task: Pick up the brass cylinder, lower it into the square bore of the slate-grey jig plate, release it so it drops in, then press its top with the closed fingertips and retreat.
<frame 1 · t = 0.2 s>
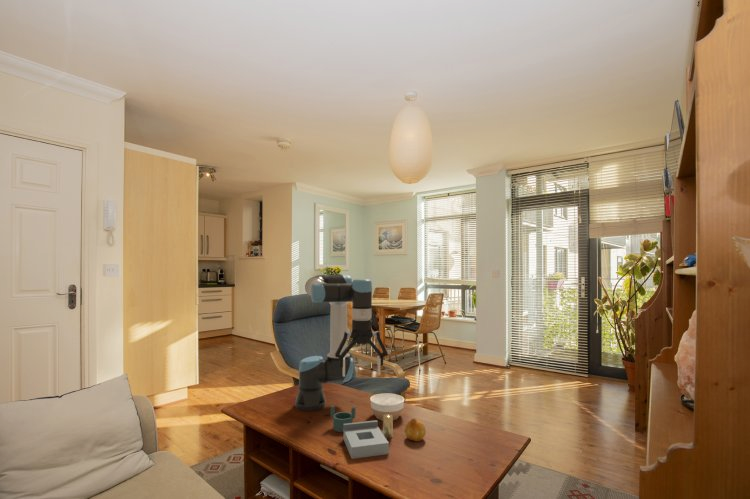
hand: (361, 375, 144), 27 cm above the table, fingers open, 13 cm apart
brass cylinder: (387, 436, 153), on the table
fruit: (415, 439, 151), on the table
bracket: (343, 427, 161), on the table
jig: (365, 446, 144), on the table
bowl: (387, 416, 174), on the table
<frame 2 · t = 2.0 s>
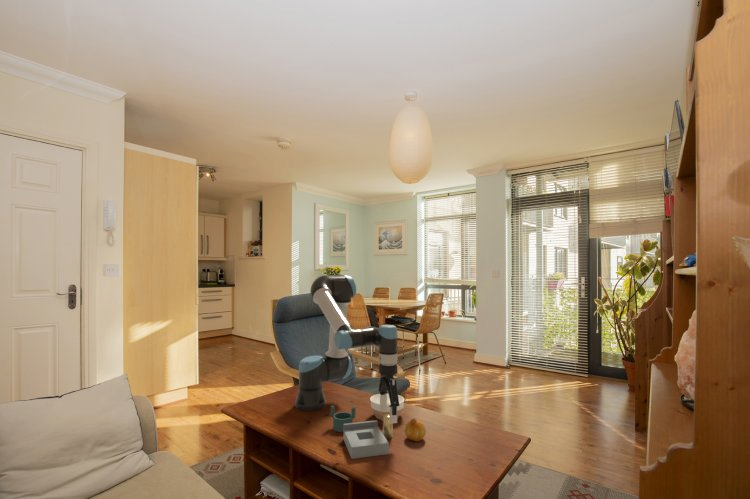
hand: (388, 416, 153), 8 cm above the table, fingers open, 13 cm apart
nothing on the table moved.
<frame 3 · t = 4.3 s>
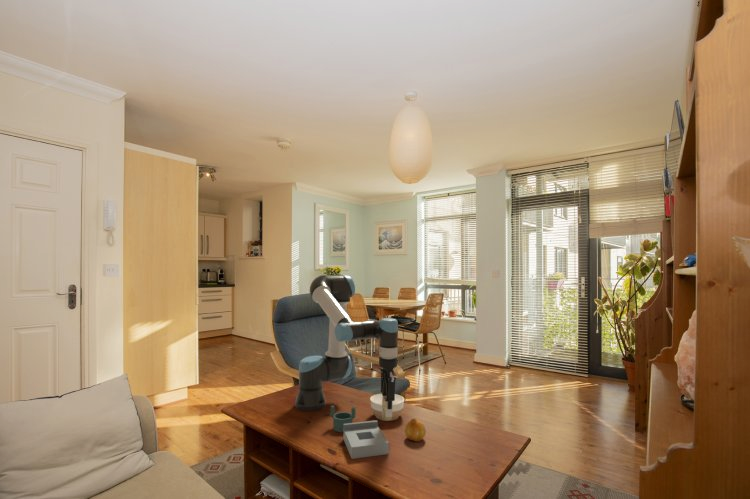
hand: (387, 414, 154), 9 cm above the table, fingers closed on brass cylinder, 4 cm apart
brass cylinder: (387, 418, 154), point 7 cm above the table, touching gripper
everything else where it was.
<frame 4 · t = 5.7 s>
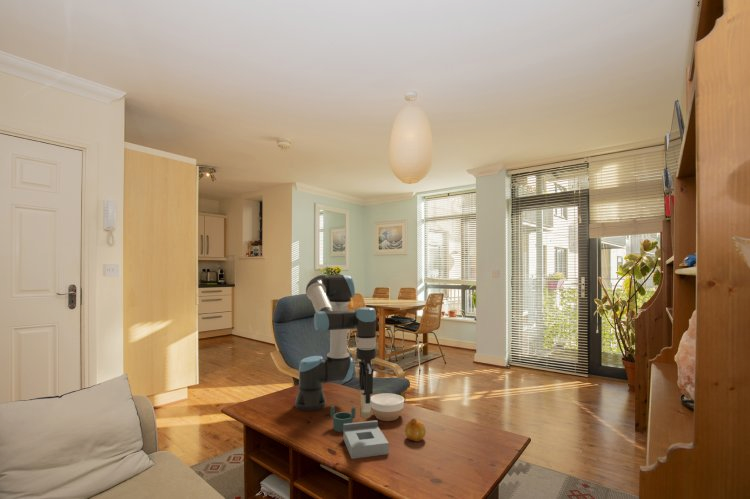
hand: (365, 409, 145), 14 cm above the table, fingers closed on brass cylinder, 4 cm apart
brass cylinder: (365, 415, 145), point 12 cm above the table, touching gripper
everything else where it was.
when the fingers open (5 cm above the table, at t = 7.5 s): brass cylinder drops 3 cm, resting in jig.
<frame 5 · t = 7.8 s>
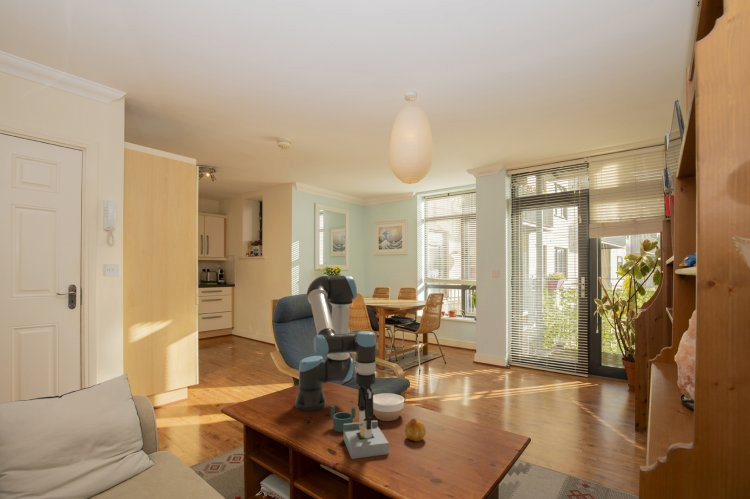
hand: (365, 432, 145), 5 cm above the table, fingers open, 8 cm apart
brass cylinder: (365, 446, 144), resting in jig
everything else where it was.
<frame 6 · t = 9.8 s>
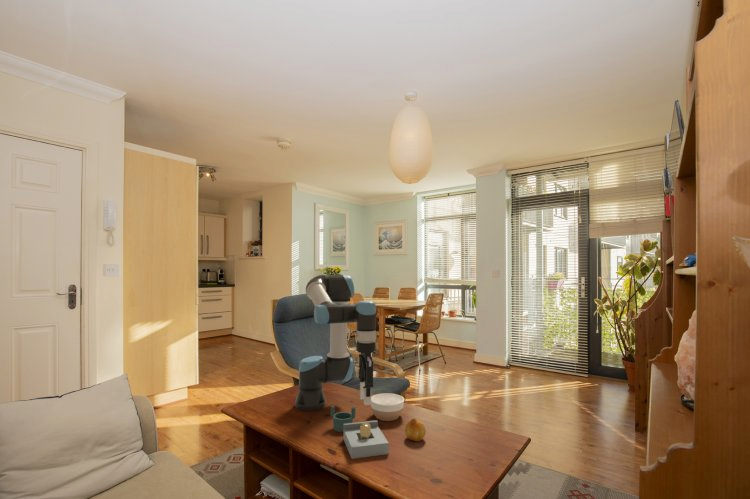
hand: (365, 401, 145), 17 cm above the table, fingers open, 6 cm apart
nothing on the table moved.
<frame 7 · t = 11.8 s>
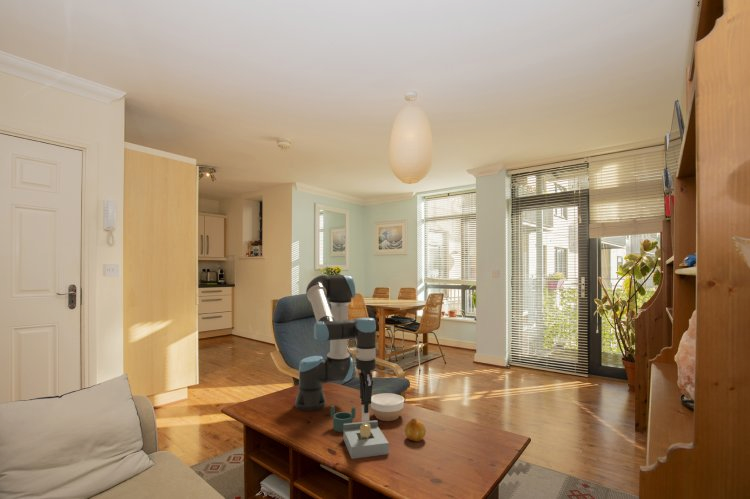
hand: (365, 420, 145), 10 cm above the table, fingers closed
nothing on the table moved.
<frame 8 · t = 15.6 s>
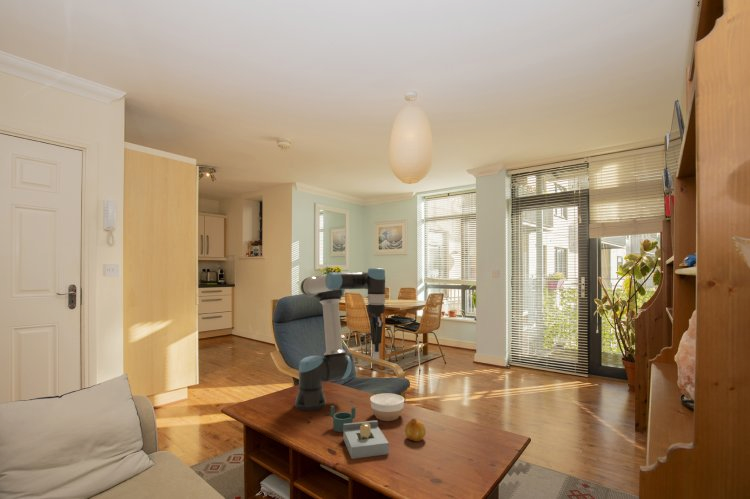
hand: (375, 358, 161), 29 cm above the table, fingers closed
nothing on the table moved.
at the end: brass cylinder 0.1 cm off-centre on the jig, point 0.0 cm above the jig's base; brass cylinder tilted 0°; the gripper is holding nothing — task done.
